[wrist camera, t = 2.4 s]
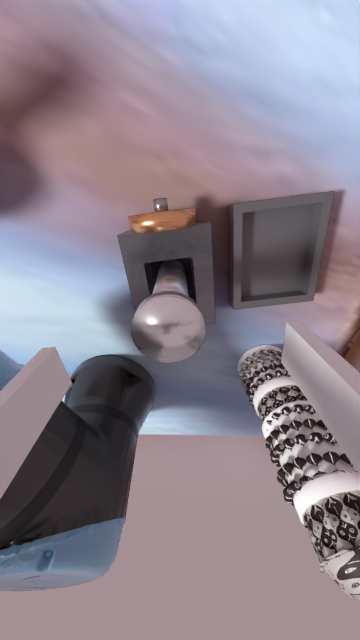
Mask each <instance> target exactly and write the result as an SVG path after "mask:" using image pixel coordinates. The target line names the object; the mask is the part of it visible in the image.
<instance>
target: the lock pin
mask: <svg viewBox="0 0 360 640" xmlns="http://www.w3.org/2000/svg"><path fill="white" fill-rule="evenodd" d="M205 334H206V327H205V322H204V319H203V315H202V312H201V310H200V308H199V306H198V305H197V303H196V302H195V301H194V300H193V299H191V298H190V297H189V295H188V289H187V282H186V276H185V270H184V267H183V266H182V264H181V263H179V262H178V261H175V260H168V261H166V262H164V263H163V264H162V265H161V267H160V269H159V273H158V276H157V280H156V283H155V287H154V291H153V294H152V295H150V296H149V297H147V298H146V299H145V300H143V302H142V303H141V304H140V305H139V307H138V309H137V311H136V313H135V316H134V318H133V321H132V325H131V335H132V339H133V341H134V343H135V345H136V347H137V348H138V349H139V350H140V351H141V352H142V353H143V354H144V355H145V356H147V357H149V358H151V359H153V360H156V361H159V362H167V363H171V362H179V361H182V360H185V359H187V358H189V357H191V356H192V355H194V354H195V353H196V352H197V351H198V350H199V349H200V347H201V346H202V344H203V342H204V339H205Z"/></svg>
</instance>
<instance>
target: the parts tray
mask: <svg viewBox="0 0 360 640" xmlns="http://www.w3.org/2000/svg"><path fill="white" fill-rule="evenodd" d="M333 196H334V191H329V192H322V193H314V194H306V195H299V196H291V197H284V198H276V199H268V200H261V201H253V202H245V203H238V204H231V205H229V303H230V304H231V306H232V308H233V309H243V308H252V307H261V306H270V305H279V304H287V303H296V302H305V301H313V300H314V295H315V290H316V285H317V279H318V274H319V269H320V264H321V258H322V253H323V248H324V243H325V237H326V232H327V227H328V222H329V216H330V211H331V206H332V201H333Z"/></svg>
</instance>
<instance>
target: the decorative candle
mask: <svg viewBox="0 0 360 640" xmlns="http://www.w3.org/2000/svg"><path fill="white" fill-rule="evenodd" d="M281 359H282V351H281V350H280V348H277V347H275V346H273V345H259V346H256V347H252V348H251V349H249V350H248V351H246V352H245V353H244V354H243V355H242V357H241V358H240V359H239V362H238V366H237V368H238V372H239V375H240V376H241V377H240V379H241V380H244V381H243V386H246V388H245V390H247V391H246V393H247V395H248V396H249V401H250V403H251V404H252V406H253V407H254V408H255V410H256V412H257V415H258V416H259V417H260V418H261V420H262V424H263V425H262V427H261V428H262V431H263V435H264V437H265V438H266V447H267V448H268V449H269V451H270V452H271V453H270V456H271V461H272V462H273V464H276V466H277V467H280V468H281V469H280V470H279V471H278V473H277V475H278V476H277V480H278V482H279V483H281V484H282V485H283V486H284V487H286V488H285V489H284V490H283V494H284V499H285V501H287V502H288V503H290V504H292V505H293V506H295V508H296V510H297V513H298V515H299V517H300V520H301V523H303V524H304V525H305V527H306V529H307V531H308V533H309V537H310V539H311V542H312V544H313V547H314V549H315V551H316V553H317V555H318V556H319V561H320V563H321V564H320V572H322V573H324V574H326V575H328V576H331V577H332V578H333V579H334V581H336V583H337V584H338V585H339V586H340V588H341V589H342V590H343V591H344V592H345V593H346V594H347V595H348V596H350V597H352V598H353V599H355V600H357V601H360V474H359V473H358V471H357V470H356V469H355V467H354V466H353V464H352V463H351V461H350V460H349V459H348V457H347V456H346V454H345V453H344V451H343V450H342V449H341V447H340V446H339V444H338V443H337V441H336V440H335V439H334V437H333V436H332V434H331V433H330V431H329V430H328V428H327V427H326V426H325V424H324V423H323V421H322V420H321V418H320V417H319V416H318V414H317V413H316V411H315V410H314V408H313V407H312V406H311V404H310V403H309V401H308V400H307V398H306V397H305V396H304V394H303V393H302V391H301V390H300V388H299V387H298V386H297V384H296V383H295V381H294V380H293V378H292V377H291V375H290V374H289V373H288V371H287V370H286V368H285V367H284V365H283V364H282V363H281ZM286 478H287V479H286Z"/></svg>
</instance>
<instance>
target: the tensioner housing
mask: <svg viewBox="0 0 360 640" xmlns="http://www.w3.org/2000/svg"><path fill="white" fill-rule="evenodd" d="M153 203H154V210H155V213H148V214H141V215H134V216H128V219H129V224H130V229H131V231H127V232H124V233H121V234H119V235H117V237H118V241H119V245H120V249H121V254H122V258H123V262H124V266H125V271H126V275H127V279H128V283H129V287H130V292H131V296H132V300H133V304H134V309H135V313H136V311H137V309H138V307H139V305H140V304H141V303H142V302H143V300H145V299H146V298H147V297H149V296H150V295H152V294H153V291H154V283H153V277H152V272H151V266H150V262H155V261H163V260H171V259H180V258H188V257H191V267H192V278H193V289H194V290H188V295H189V297H190V298H191V299H193V300H194V301H195V302H196V303H197V305H198V306H199V308H200V310H201V312H202V315H203V319H204V322H205V325H207V324H215V302H214V279H213V256H212V233H211V223H209V222H205V221H204V222H197V223H196V211H195V208H187V209H179V210H171V211H168V205H167V198H159V199H154V200H153Z"/></svg>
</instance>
